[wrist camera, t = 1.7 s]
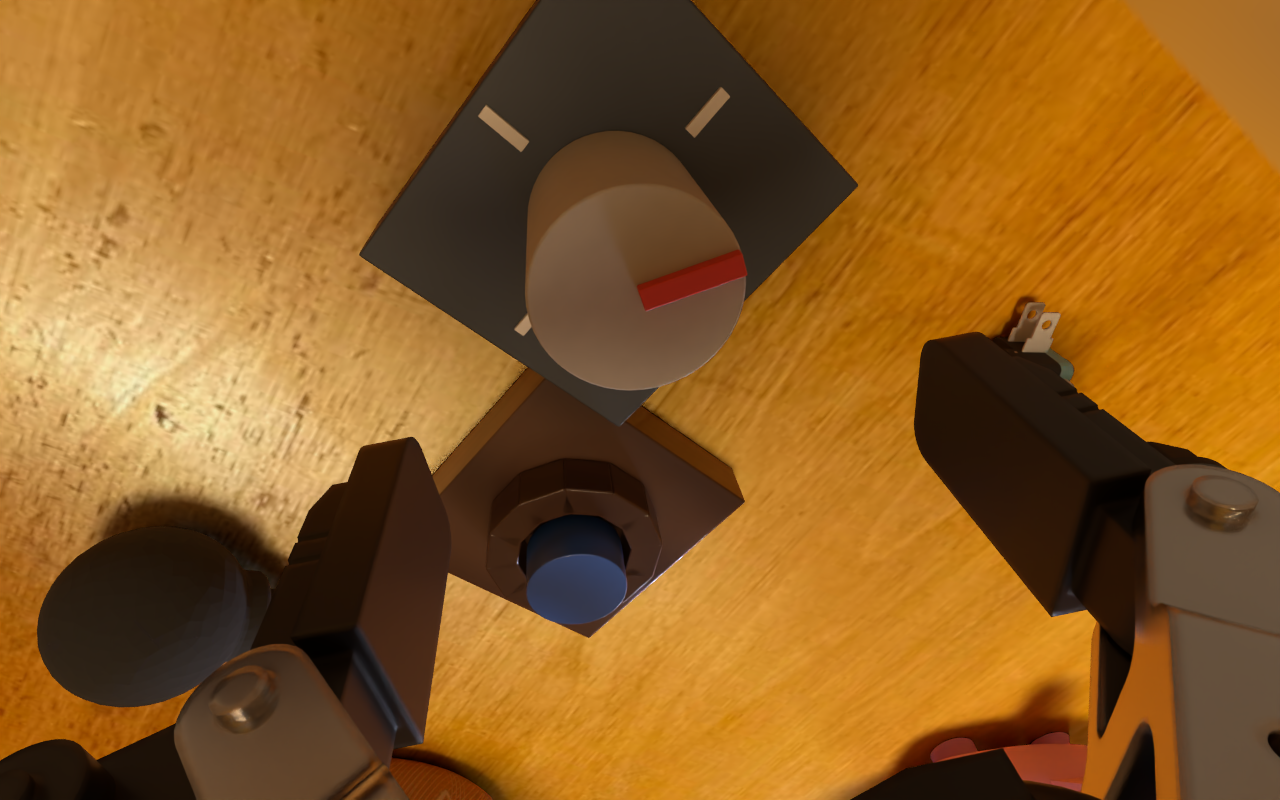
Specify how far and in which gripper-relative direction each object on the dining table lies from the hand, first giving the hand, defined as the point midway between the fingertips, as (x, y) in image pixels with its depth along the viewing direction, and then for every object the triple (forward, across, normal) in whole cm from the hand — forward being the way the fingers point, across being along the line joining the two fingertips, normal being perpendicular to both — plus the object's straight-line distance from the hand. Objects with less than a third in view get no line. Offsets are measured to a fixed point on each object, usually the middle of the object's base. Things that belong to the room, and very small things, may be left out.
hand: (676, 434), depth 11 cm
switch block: (+14, +3, +12) cm, 19 cm away
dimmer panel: (+14, 0, 0) cm, 14 cm away
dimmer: (+11, 0, 0) cm, 11 cm away
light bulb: (+14, +18, +12) cm, 26 cm away
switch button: (+10, +3, +12) cm, 16 cm away
